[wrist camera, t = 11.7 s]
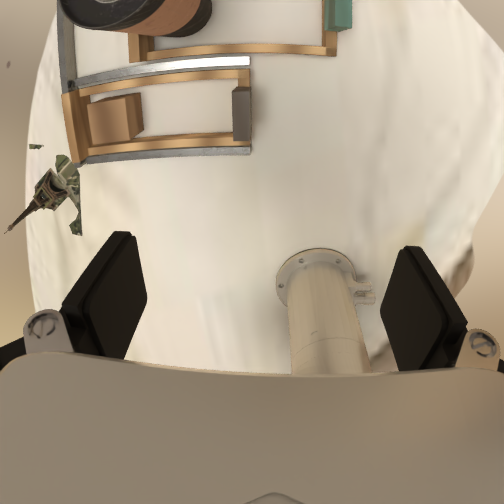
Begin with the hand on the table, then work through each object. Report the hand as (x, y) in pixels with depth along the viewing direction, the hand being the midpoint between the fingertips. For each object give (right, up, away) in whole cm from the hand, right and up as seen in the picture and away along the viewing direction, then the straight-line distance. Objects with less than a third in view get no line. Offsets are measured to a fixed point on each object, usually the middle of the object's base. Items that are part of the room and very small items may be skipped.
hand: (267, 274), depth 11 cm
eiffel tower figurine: (-31, +10, +31) cm, 45 cm away
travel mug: (-9, +29, +17) cm, 35 cm away
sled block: (-12, +18, +24) cm, 33 cm away
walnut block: (-17, +18, +25) cm, 35 cm away
